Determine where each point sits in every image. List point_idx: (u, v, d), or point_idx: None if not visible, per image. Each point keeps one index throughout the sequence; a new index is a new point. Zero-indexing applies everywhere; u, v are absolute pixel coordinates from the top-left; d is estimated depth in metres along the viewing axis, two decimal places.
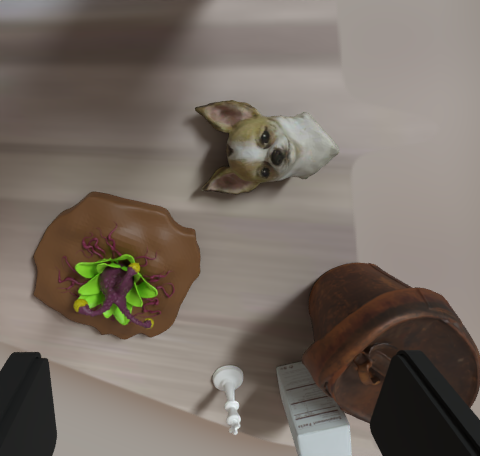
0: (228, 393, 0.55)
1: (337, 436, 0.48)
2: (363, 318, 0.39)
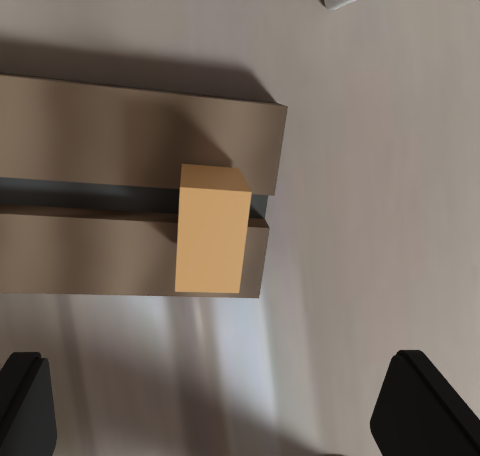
0: None
1: None
2: None
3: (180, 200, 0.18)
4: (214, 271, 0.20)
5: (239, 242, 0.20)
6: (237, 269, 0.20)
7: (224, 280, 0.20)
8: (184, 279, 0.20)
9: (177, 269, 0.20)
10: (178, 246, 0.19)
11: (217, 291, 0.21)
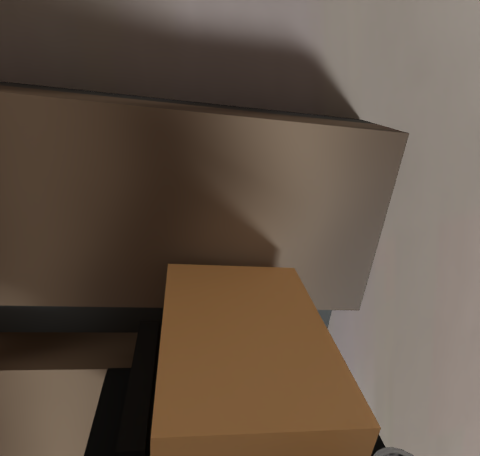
0: None
1: None
2: None
3: None
4: None
5: None
6: None
7: None
8: None
9: None
10: None
11: None
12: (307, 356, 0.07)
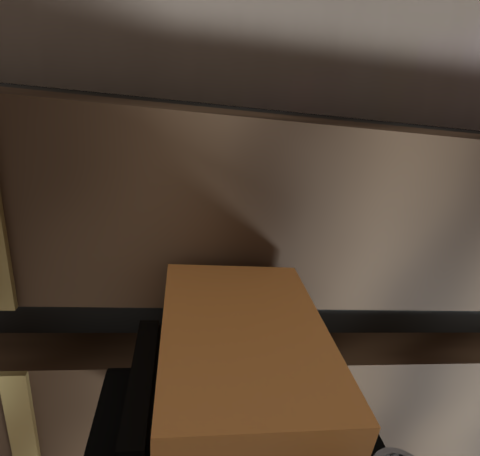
0: None
1: None
2: None
3: None
4: None
5: None
6: None
7: None
8: None
9: None
10: None
11: None
12: (307, 356, 0.07)
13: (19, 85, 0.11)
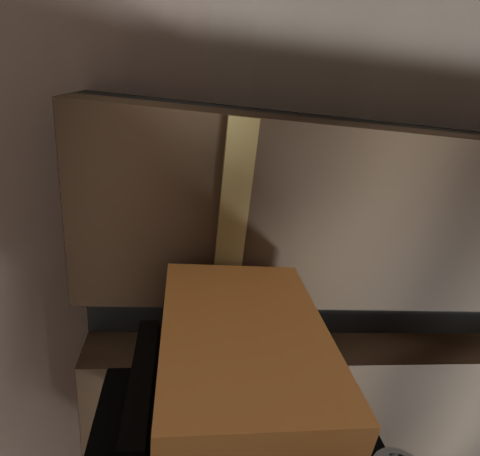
0: None
1: None
2: None
3: None
4: None
5: None
6: None
7: None
8: None
9: None
10: None
11: None
12: (307, 356, 0.07)
13: (232, 106, 0.12)
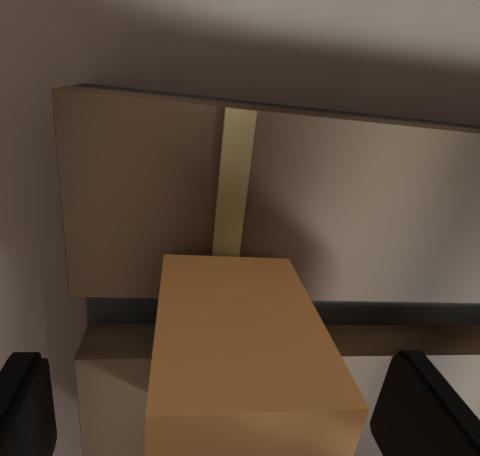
0: None
1: None
2: None
3: (147, 449, 0.06)
4: None
5: None
6: None
7: None
8: None
9: None
10: None
11: None
12: (299, 341, 0.07)
13: (229, 100, 0.12)
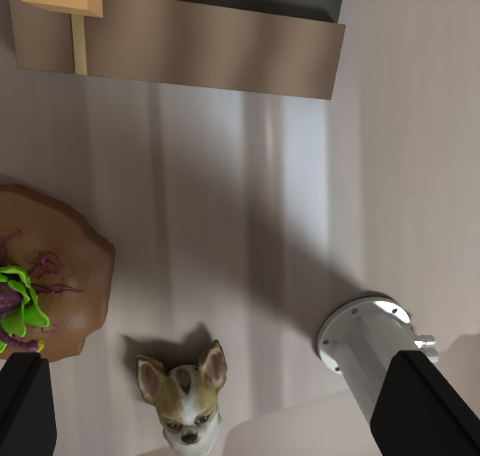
0: None
1: None
2: None
3: None
4: None
5: None
6: None
7: None
8: None
9: None
10: None
11: (64, 5, 0.21)
12: None
13: None
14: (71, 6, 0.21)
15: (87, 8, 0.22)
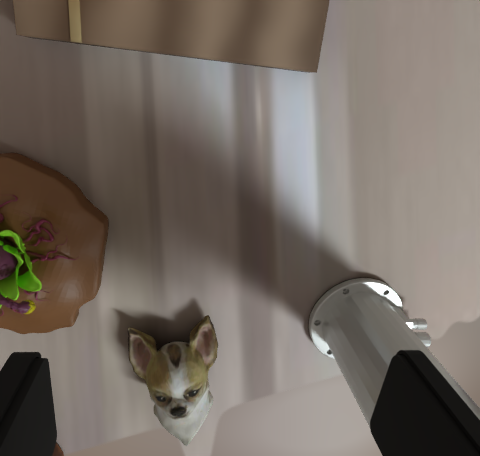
0: None
1: None
2: None
3: None
4: None
5: None
6: None
7: None
8: None
9: None
10: None
11: None
12: None
13: None
14: None
15: None
